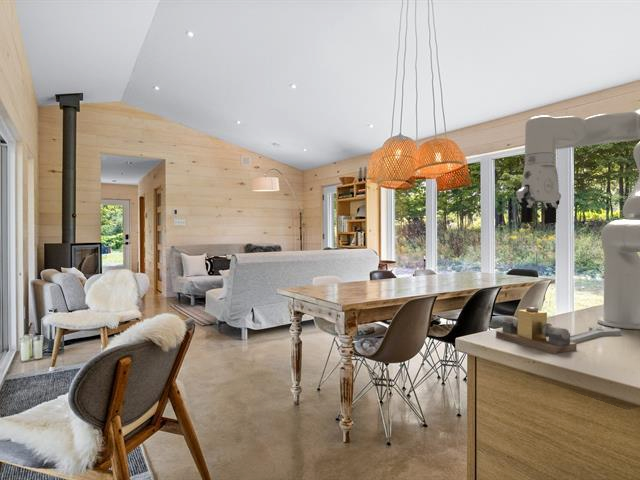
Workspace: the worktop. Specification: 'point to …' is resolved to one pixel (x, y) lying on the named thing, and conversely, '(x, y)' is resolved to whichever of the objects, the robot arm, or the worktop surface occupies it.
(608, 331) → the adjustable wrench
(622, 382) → the worktop surface
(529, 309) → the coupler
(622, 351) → the worktop surface
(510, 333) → the shaft stand
